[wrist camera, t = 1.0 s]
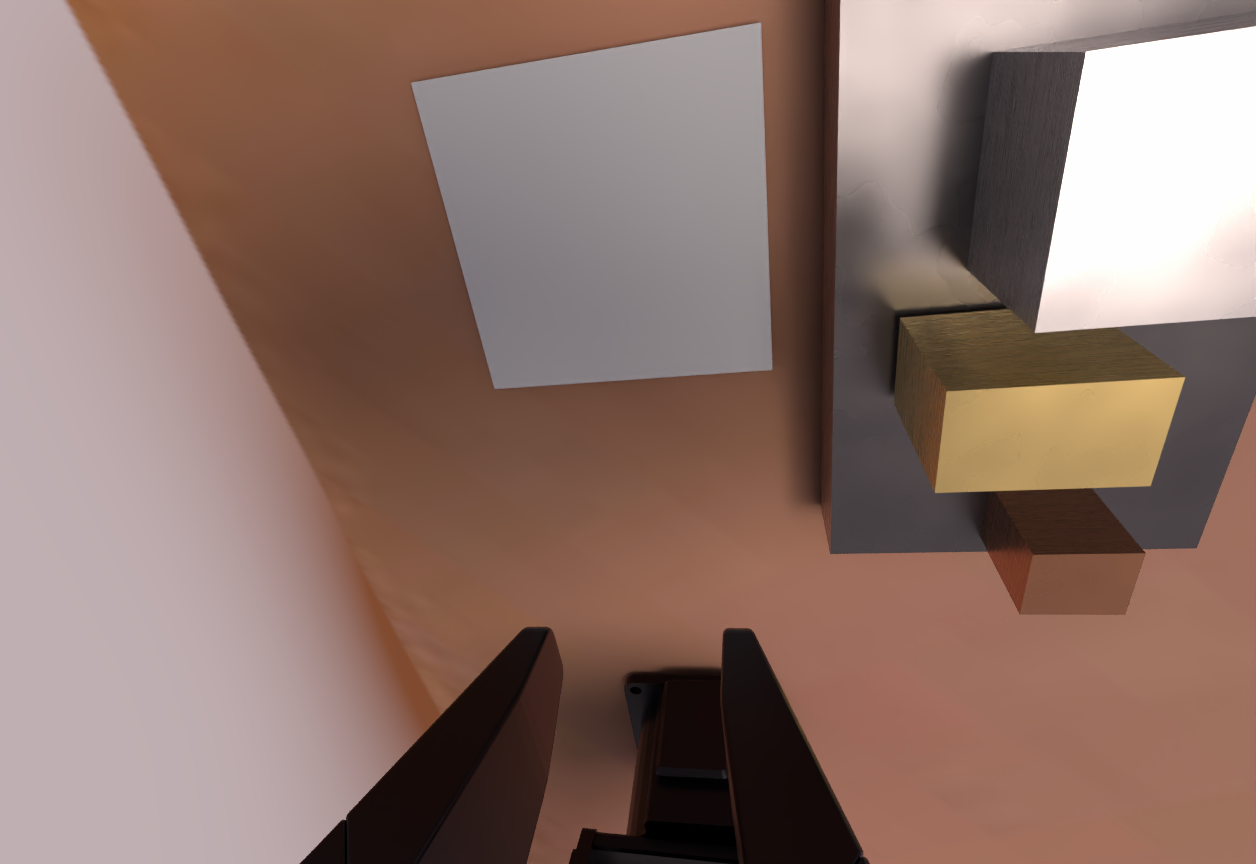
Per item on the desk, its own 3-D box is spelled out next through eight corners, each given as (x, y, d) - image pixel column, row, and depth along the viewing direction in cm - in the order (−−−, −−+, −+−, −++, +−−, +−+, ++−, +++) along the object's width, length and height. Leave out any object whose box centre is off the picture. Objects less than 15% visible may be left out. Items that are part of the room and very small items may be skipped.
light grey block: (1209, 247, 14) (1360, 308, 11) (966, 270, 15) (1034, 333, 12) (1282, 7, 12) (1500, -11, 9) (993, 51, 13) (1086, 51, 10)
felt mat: (771, 364, 20) (772, 370, 19) (498, 383, 21) (494, 389, 21) (760, 22, 15) (760, 22, 15) (417, 82, 17) (410, 82, 17)
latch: (1061, 393, 16) (1150, 486, 13) (894, 403, 17) (934, 492, 13) (1081, 302, 15) (1185, 377, 11) (899, 318, 16) (946, 391, 12)
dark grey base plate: (1147, 496, 20) (1272, 629, 16) (820, 505, 22) (844, 627, 17) (1407, -319, 11) (1878, -579, 7) (826, -186, 13) (877, -315, 9)
